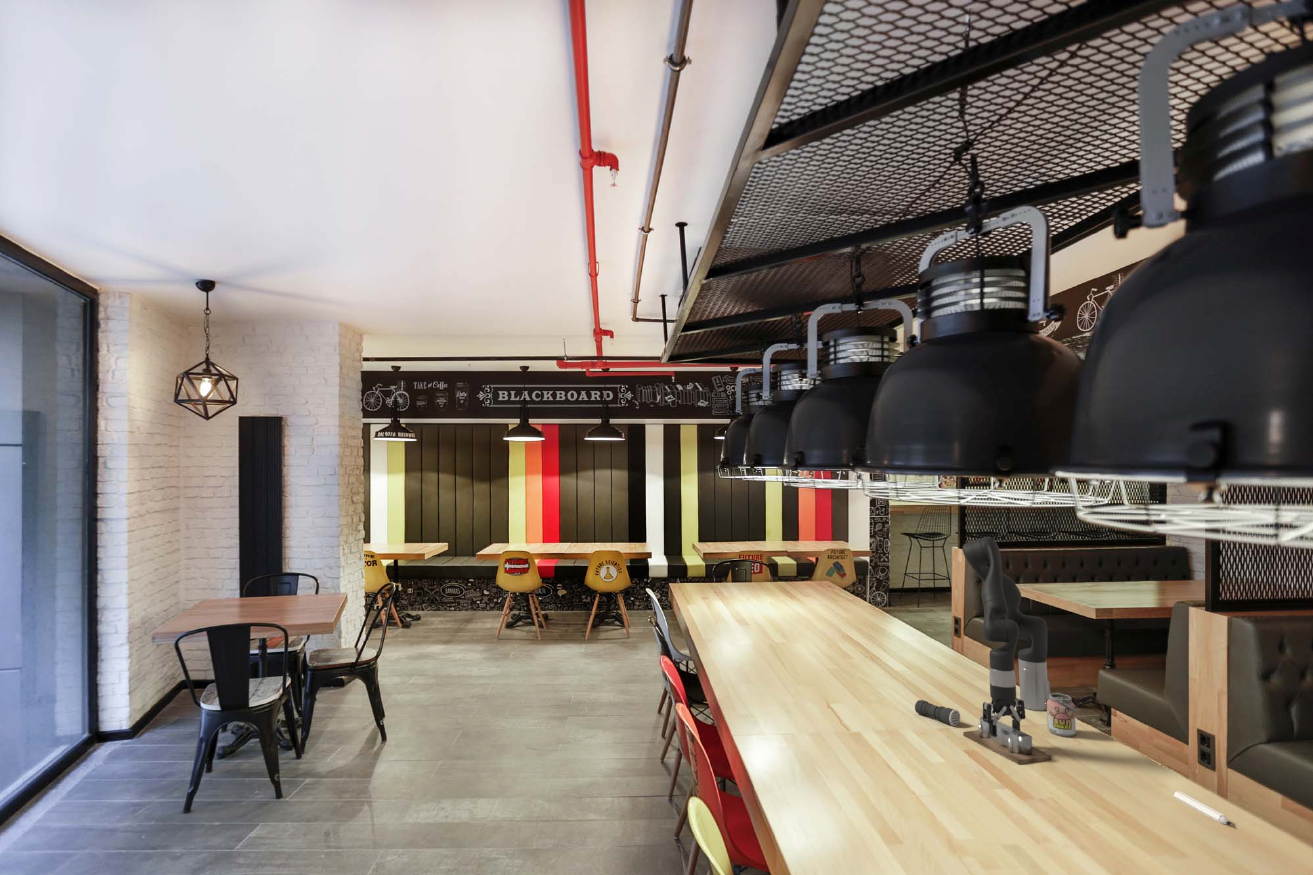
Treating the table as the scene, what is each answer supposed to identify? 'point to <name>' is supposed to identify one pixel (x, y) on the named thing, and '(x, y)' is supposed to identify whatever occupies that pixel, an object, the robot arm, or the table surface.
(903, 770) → the table surface
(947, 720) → the flashlight
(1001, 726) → the grey long metal bar
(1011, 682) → the robot arm
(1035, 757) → the tool rest
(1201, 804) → the marker
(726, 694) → the table surface
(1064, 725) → the beverage can
